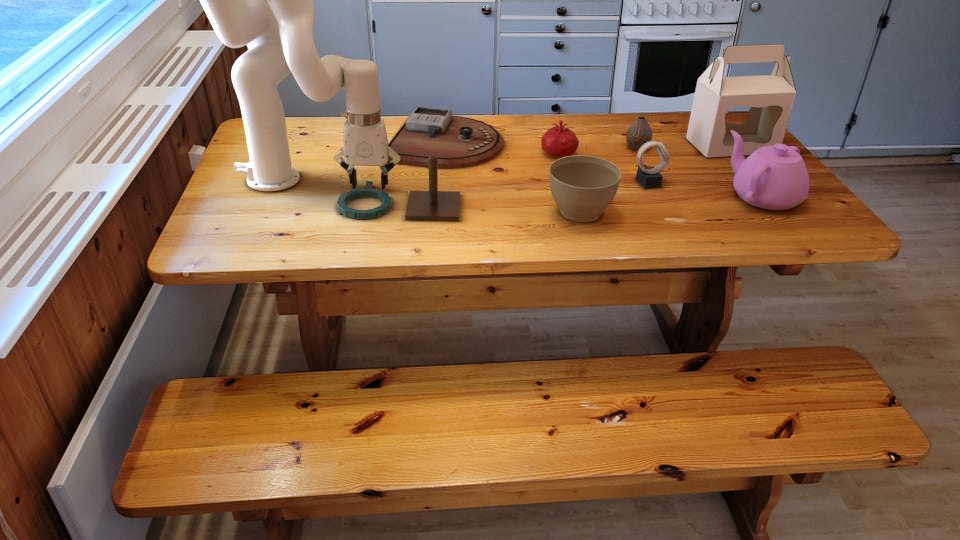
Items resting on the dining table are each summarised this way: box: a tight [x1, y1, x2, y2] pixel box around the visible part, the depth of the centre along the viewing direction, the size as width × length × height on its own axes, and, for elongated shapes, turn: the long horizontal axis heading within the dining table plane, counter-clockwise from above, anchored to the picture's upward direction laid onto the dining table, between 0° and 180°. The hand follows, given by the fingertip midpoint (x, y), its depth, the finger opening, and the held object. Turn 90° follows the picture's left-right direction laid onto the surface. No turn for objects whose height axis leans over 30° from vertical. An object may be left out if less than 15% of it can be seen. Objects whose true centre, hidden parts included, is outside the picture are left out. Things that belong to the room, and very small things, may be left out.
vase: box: [625, 115, 653, 152], centre depth 193 cm, size 7×7×9 cm
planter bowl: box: [548, 154, 622, 223], centre depth 162 cm, size 16×16×11 cm
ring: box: [336, 180, 392, 220], centre depth 166 cm, size 12×16×2 cm
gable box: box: [685, 43, 797, 159], centre depth 191 cm, size 22×13×28 cm, turn 101°
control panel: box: [387, 105, 504, 170], centre depth 194 cm, size 31×5×30 cm
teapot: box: [730, 130, 810, 211], centre depth 171 cm, size 22×22×14 cm
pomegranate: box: [540, 119, 580, 159], centre depth 189 cm, size 10×10×9 cm
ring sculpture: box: [635, 140, 671, 190], centre depth 175 cm, size 6×8×11 cm
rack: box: [404, 155, 461, 222], centre depth 162 cm, size 12×12×13 cm
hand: (369, 186), depth 171 cm, fingers open, 6 cm apart
